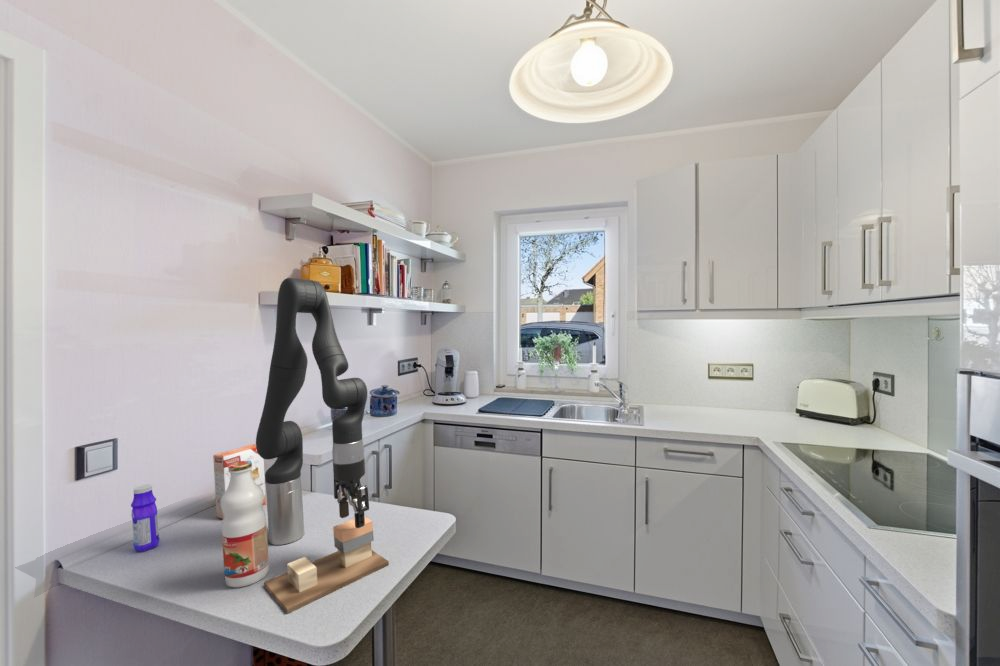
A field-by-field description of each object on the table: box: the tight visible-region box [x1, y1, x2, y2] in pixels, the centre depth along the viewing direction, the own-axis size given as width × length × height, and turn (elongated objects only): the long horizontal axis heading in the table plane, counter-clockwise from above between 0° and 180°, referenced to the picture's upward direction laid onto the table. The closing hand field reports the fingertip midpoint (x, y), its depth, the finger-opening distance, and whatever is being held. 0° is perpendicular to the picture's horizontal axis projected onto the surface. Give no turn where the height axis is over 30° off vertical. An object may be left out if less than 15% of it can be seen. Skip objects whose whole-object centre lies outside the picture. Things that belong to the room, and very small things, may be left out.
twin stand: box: [263, 541, 390, 614], centre depth 106 cm, size 15×24×5 cm, turn 135°
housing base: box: [333, 530, 375, 553], centre depth 111 cm, size 8×5×2 cm, turn 135°
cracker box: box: [212, 443, 267, 520], centre depth 148 cm, size 14×6×21 cm, turn 153°
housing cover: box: [332, 516, 374, 543], centre depth 111 cm, size 8×5×2 cm, turn 135°
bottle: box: [130, 484, 160, 553], centre depth 125 cm, size 7×6×17 cm
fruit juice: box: [220, 461, 270, 588], centre depth 107 cm, size 9×9×28 cm
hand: (352, 521), depth 111 cm, fingers open, 8 cm apart
